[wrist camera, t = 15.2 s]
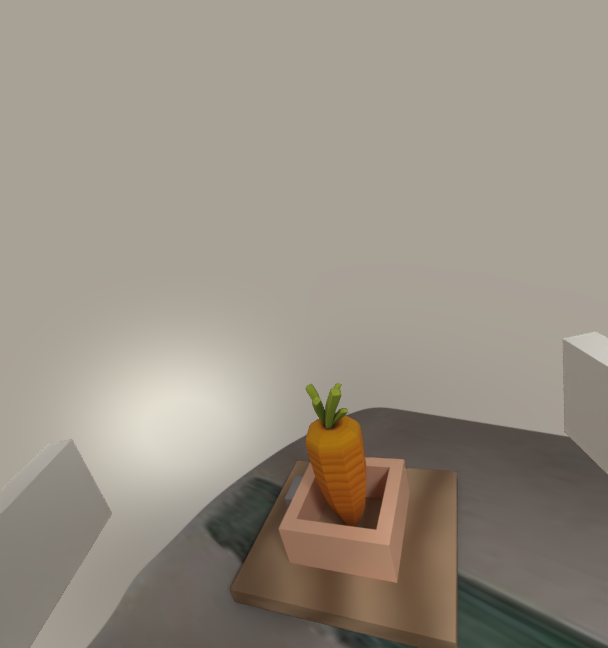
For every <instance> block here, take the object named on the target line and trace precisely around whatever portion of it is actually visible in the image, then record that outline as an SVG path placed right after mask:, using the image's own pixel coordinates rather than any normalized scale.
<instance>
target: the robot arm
mask: <svg viewBox="0 0 608 648" xmlns="http://www.w3.org/2000/svg"><path fill="white" fill-rule="evenodd" d="M563 378H564V422H565V423H564V426H565V433H566V434H567V435H568V436H569V437H570V438H571V439H572V440H573V441H574V442H575V443H576V444H577V445H578V446H579V447H580V448H581V449H582V450H583V451H584V452H585V453H586V454H587V455H589V456H590V457H591V458H592V459H593V460H594V461H595V462H596V463H597V464H598V465H599V466H600V467H601V468H602V469H603V470H604V471H605V472H606V473H607V474H608V338H607V337H605V336H603V335H601V334H599V333H597V332H592V333H587V334H582V335H577V336H572V337H567V338H563ZM111 514H112V512H111V511H110V508H109V507H108V505H107V503H106V501H105V499H104V498H103V496H102V494H101V492H100V490H99V488H98V486H97V484H96V483H95V481H94V479H93V477H92V475H91V473H90V471H89V470H88V468H87V466H86V464H85V462H84V460H83V458H82V457H81V455H80V453H79V451H78V450H77V447H76V446H75V444H74V442H73V440H72V439H70V440H65V441H60V442H56V443H51V444H47V445H46V446H45V447H44V448H43V449H42V450H41V451H40V452H39V453H38V454H37V455H36V456H35V457H34V458H33V459H32V460H31V461H30V462H29V463H28V464H27V465H25V466H24V467H23V468H22V469H21V470H20V471H19V473H17V474H16V475H15V476H14V477H13V478H12V479H11V480H10V481H9V482H8V483H7V484H6V485H5V486H4V487H3V488H2V489H1V490H0V648H30V646H31V645H32V643H33V641H34V640H35V638H36V637H37V635H38V633H39V632H40V630H41V628H42V627H43V625H44V624H45V622H46V620H47V619H48V617H49V615H50V614H51V612H52V611H53V609H54V607H55V606H56V604H57V602H58V601H59V599H60V598H61V596H62V594H63V593H64V591H65V589H66V588H67V586H68V585H69V583H70V581H71V580H72V578H73V576H74V575H75V573H76V572H77V570H78V568H79V567H80V565H81V563H82V562H83V560H84V558H85V557H86V555H87V554H88V552H89V550H90V549H91V547H92V545H93V544H94V542H95V541H96V539H97V537H98V536H99V534H100V532H101V531H102V529H103V528H104V526H105V524H106V523H107V521H108V519H109V518H110V516H111Z"/></svg>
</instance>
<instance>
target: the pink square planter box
mask: <svg viewBox="0 0 608 648" xmlns="http://www.w3.org/2000/svg"><path fill="white" fill-rule="evenodd" d="M365 459H366V497H372V498H381V499H383V501H382V506H381V511H380V515H379V520H378V524H377V529H376V530H374V529H367V528H359V527H352V526H345V525H337V524H330V523H322V522H318V521H319V518H320V516H321V513H322V510H323V508H324V505H325V503H326V499H325V497H324V495H323V493H322V491H321V489H320V487H319V485H318V483H317V480H316V477H315V474H314V471H313V468H312V465H311V462H310V464H309V466H308V468H307V470H306V472H305V474H304V476H298V475H296V477H295V479H294V481H293V483H292V485H291V487H290V489H289V491H288V493H287V495H286V497H285V501H286V505H287V508H288V510H287V512H286V514H285V516H284V518H283V520H282V522H281V525H280V527H279V532H280V535H281V538H282V541H283V544H284V547H285V550H286V553H287V556H288V559H289V562H290V563H294V564H299V565H305V566H310V567H315V568H321V569H326V570H331V571H337V572H342V573H347V574H353V575H358V576H363V577H369V578H374V579H379V580H385V581H390V582H395V583H397V580H398V572H399V565H400V558H401V551H402V544H403V537H404V530H405V522H406V515H407V508H408V501H409V494H410V490H409V484H408V479H407V473H406V467H405V462H404V459H388V458H371V457H365Z"/></svg>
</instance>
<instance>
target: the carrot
mask: <svg viewBox="0 0 608 648" xmlns="http://www.w3.org/2000/svg"><path fill="white" fill-rule="evenodd" d="M340 387H341V384H336V385H335V386H334V388H333V389H331V390H330V393H329V396H328V399H327V403H326V408H325V409H326V410H325V409H324V407H323V404H322V402H321V400H320V398H319V395H318V393H317V391H316V390H315V388H314V386H313V385H312V384H310V385H308V386H307V387H306V391H307V393H308V394H309V396H310V397H311V399H312V404H313V407H314V410H315V412H316V414H317V415H318V417H319V419H318V420H316V421H314V422H313V423H311V425H310V426H309V430H308V433H307V437H306V448H307V451H308V455H309V458H310V462H311V465H312V468H313V471H314V474H315V477H316V480H317V483H318V485H319V487H320V489H321V491H322V493H323V495H324V497H325V499H326V501H327V502H328V504H329V506H330V507H331V508H332V509H333V511H334V512H335V513H336V514H337V515H338V516H339V517H340V518H341V519H342V520H343V521H344V522H345V523H346V524H347V525H349V526H352V527H354V526H356V525H357V524H358V523H359V521H360V519H361V517H362V515H363V511H364V507H365V499H366V459H365V451H364V444H363V438H362V432H361V427H360V425H359V423H358V422H357V421H355V420H353V419H351V418H350V417H348V416H346V414H347V412H348V410H347V409H346V408H342V409H339V411H338V412H337V413H336V414H335V411H336V408H337V406H338V403H339V400H340V397H341V391H340Z"/></svg>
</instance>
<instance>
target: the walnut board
mask: <svg viewBox="0 0 608 648" xmlns="http://www.w3.org/2000/svg"><path fill="white" fill-rule="evenodd" d="M309 464H310V461H297V462H296V464H295V466H294V468H293V469H292V471H291V473H290V475H289V477H288V479H287V481H286V483H285V485H284V487H283V489H282V491H281V493H280V494H279V496H278V498H277V500H276V502H275V504H274V506H273V508H272V510H271V512H270V514H269V516H268V518H267V519H266V521H265V523H264V525H263V527H262V529H261V531H260V533H259V535H258V537H257V539H256V541H255V543H254V544H253V546H252V548H251V550H250V552H249V554H248V556H247V558H246V560H245V562H244V564H243V566H242V568H241V569H240V571H239V573H238V575H237V577H236V579H235V581H234V583H233V585H232V587H231V589H230V591H231V593H232V596H233V598H234V601H235V602H238V603H242V604H246V605H250V606H254V607H258V608H262V609H266V610H270V611H274V612H278V613H282V614H286V615H290V616H294V617H298V618H302V619H306V620H310V621H314V622H318V623H322V624H326V625H330V626H334V627H338V628H342V629H346V630H350V631H354V632H358V633H362V634H366V635H370V636H374V637H378V638H382V639H386V640H390V641H394V642H398V643H402V644H406V645H410V646H414V647H418V648H458V482H457V474H456V471H444V470H430V469H415V468H406V473H407V479H408V484H409V490H410V494H409V501H408V508H407V515H406V522H405V530H404V537H403V544H402V551H401V558H400V565H399V572H398V580H397V583H395V582H390V581H385V580H379V579H374V578H369V577H363V576H358V575H353V574H347V573H342V572H337V571H331V570H326V569H321V568H315V567H310V566H305V565H299V564H294V563H290V562H289V559H288V556H287V553H286V550H285V547H284V544H283V541H282V538H281V535H280V532H279V527H280V525H281V522H282V520H283V518H284V516H285V514H286V512H287V510H288V508H287V505H286V501H285V497H286V495H287V493H288V491H289V489H290V487H291V485H292V483H293V481H294V479H295V477H296V475H298V476H304V474H305V472H306V470H307V468H308V466H309ZM382 501H383V499H381V498H372V497H366V499H365V507H364V511H363V515H362V517H361V519H360V521H359V523H358V524H357V525H356V526H354V527H359V528H367V529H374V530H376V529H377V524H378V520H379V515H380V511H381V506H382ZM318 522H322V523H330V524H337V525H345V526H349V525H347V524H346V523H345V522H344V521H343V520H342V519H341V518H340V517H339V516H338V515H337V514H336V513H335V512H334V511H333V509H332V508H331V507H330V506H329V504H328V502H327V501H326V503H325V505H324V508H323V510H322V513H321V516H320V518H319V521H318Z"/></svg>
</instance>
